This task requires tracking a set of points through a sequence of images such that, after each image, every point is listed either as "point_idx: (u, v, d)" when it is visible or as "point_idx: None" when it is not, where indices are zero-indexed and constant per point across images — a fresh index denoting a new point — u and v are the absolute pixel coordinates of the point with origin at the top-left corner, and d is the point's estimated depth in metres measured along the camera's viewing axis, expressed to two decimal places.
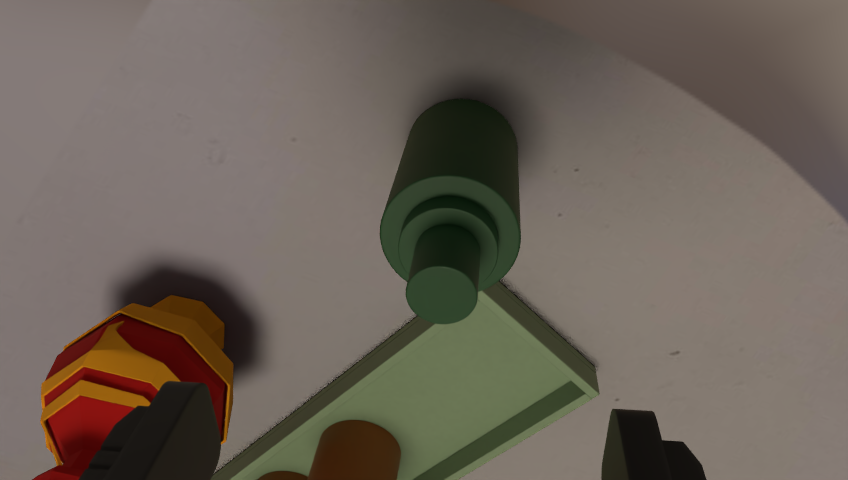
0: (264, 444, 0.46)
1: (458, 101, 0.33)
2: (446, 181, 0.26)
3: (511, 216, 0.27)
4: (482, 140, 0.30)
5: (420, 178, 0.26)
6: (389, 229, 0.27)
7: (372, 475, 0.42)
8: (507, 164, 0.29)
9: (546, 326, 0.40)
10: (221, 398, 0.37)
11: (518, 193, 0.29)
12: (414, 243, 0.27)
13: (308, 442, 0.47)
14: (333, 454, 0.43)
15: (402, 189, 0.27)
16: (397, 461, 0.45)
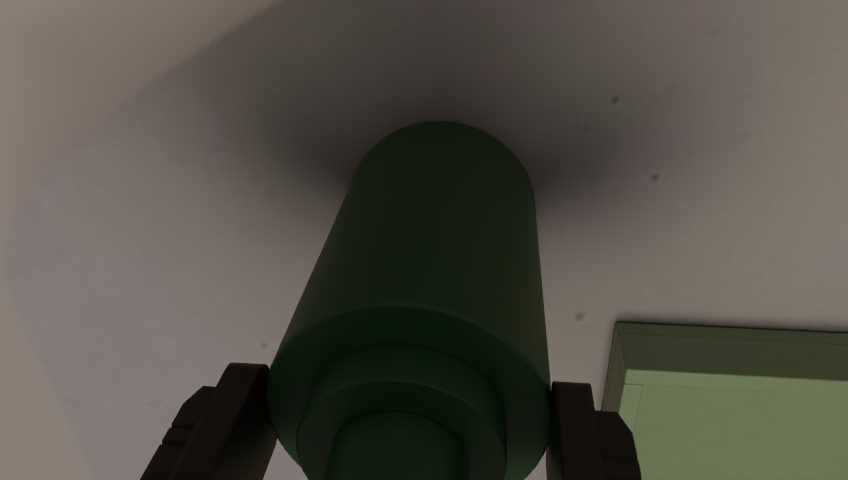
0: None
1: (367, 157, 0.20)
2: (302, 346, 0.13)
3: (452, 319, 0.12)
4: (380, 202, 0.16)
5: (270, 368, 0.13)
6: None
7: None
8: (438, 208, 0.15)
9: (792, 336, 0.22)
10: None
11: (491, 239, 0.15)
12: None
13: None
14: None
15: (266, 401, 0.14)
16: None
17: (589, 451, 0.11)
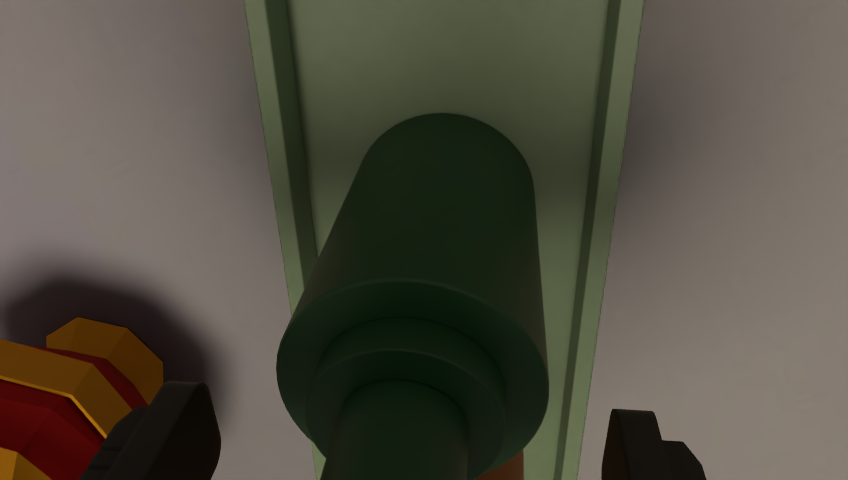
0: None
1: (372, 147, 0.21)
2: (311, 320, 0.13)
3: (453, 293, 0.13)
4: (385, 187, 0.16)
5: None
6: None
7: None
8: (441, 193, 0.16)
9: None
10: (60, 421, 0.20)
11: (491, 221, 0.15)
12: None
13: None
14: None
15: None
16: None
17: None
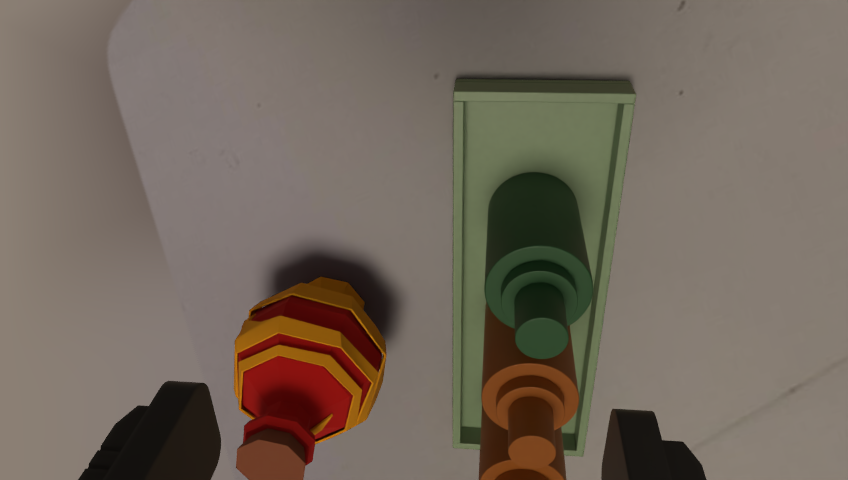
0: None
1: (500, 188, 0.42)
2: (503, 262, 0.35)
3: (559, 251, 0.35)
4: (520, 209, 0.38)
5: (488, 271, 0.36)
6: (499, 312, 0.37)
7: None
8: (545, 212, 0.38)
9: (550, 81, 0.39)
10: (349, 321, 0.42)
11: (567, 224, 0.37)
12: None
13: None
14: (488, 319, 0.45)
15: (485, 285, 0.36)
16: None
17: None
